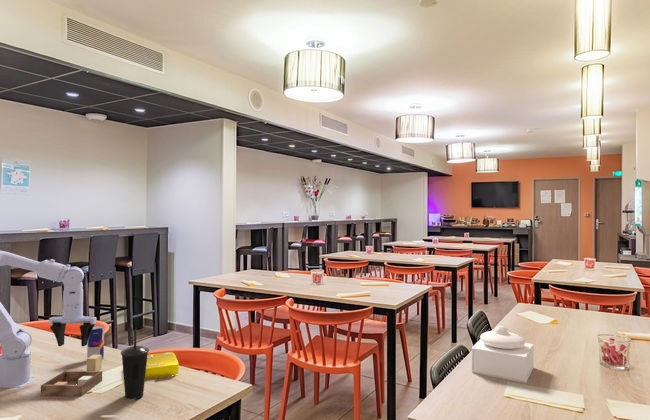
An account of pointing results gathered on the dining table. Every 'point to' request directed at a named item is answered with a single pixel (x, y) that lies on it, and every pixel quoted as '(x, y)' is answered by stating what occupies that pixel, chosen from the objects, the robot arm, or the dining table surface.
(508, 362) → the white lidded container
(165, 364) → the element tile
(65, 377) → the box
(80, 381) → the cream block
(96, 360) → the lid
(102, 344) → the energy drink
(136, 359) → the drinking cup
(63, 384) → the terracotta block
